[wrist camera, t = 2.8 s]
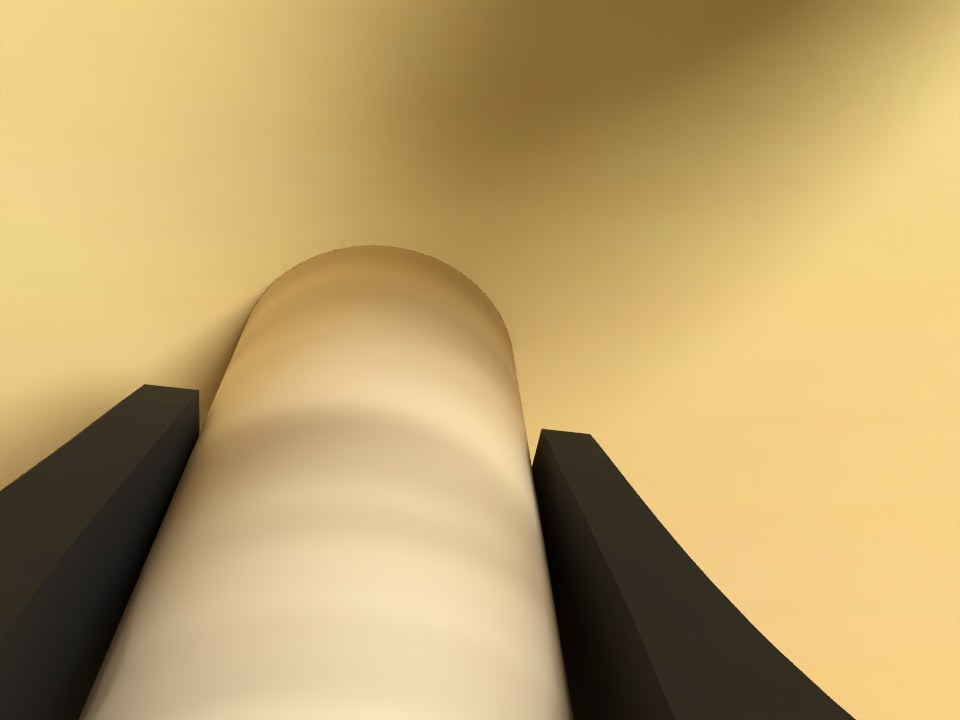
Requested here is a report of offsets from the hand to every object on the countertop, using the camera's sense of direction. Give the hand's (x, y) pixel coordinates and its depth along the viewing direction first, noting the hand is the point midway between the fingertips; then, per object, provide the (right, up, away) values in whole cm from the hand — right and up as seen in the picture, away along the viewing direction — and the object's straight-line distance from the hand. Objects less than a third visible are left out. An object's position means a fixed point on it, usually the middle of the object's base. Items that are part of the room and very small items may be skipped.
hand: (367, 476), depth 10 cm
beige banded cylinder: (0, +1, +2) cm, 2 cm away
